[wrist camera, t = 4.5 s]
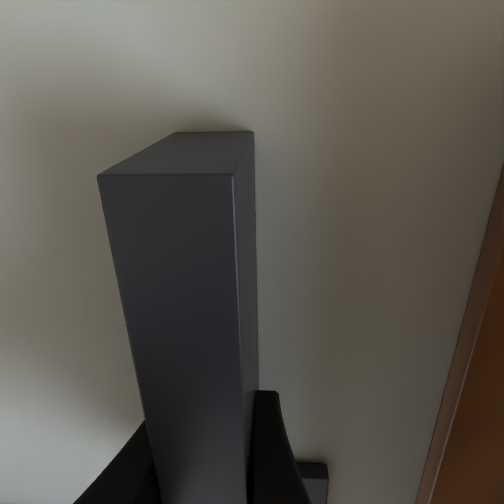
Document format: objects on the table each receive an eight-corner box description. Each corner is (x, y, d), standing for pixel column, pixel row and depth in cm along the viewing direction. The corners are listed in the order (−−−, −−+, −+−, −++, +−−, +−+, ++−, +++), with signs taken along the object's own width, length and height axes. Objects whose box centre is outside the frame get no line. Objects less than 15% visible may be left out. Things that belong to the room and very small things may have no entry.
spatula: (168, 568, 18) (137, 708, 14) (76, 133, 10) (-70, 175, 6) (316, 578, 18) (327, 726, 14) (358, 129, 9) (419, 172, 5)
